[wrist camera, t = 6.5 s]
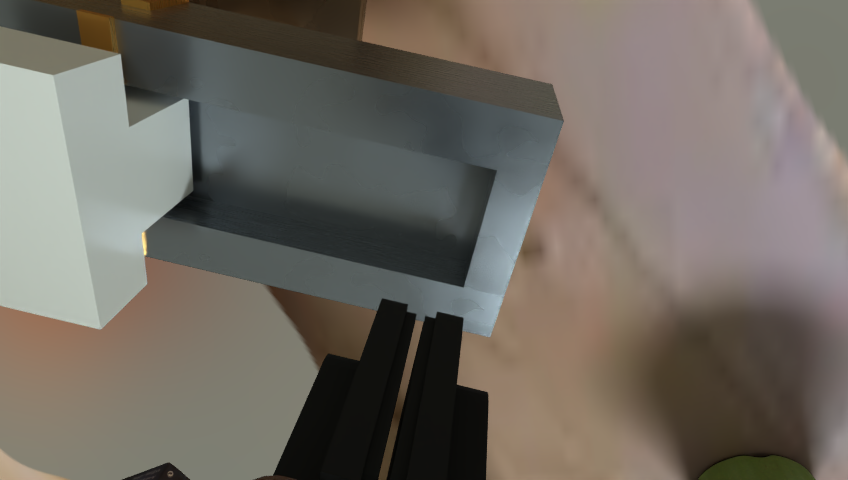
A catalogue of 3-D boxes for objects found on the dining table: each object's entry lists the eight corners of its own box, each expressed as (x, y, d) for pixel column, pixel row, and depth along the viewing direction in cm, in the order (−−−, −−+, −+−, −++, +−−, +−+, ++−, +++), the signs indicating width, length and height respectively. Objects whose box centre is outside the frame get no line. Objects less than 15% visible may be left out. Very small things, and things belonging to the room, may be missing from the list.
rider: (185, 33, 14) (53, 75, 10) (195, 236, 17) (100, 330, 13) (2, -9, 14) (-203, 16, 10) (49, 202, 17) (-90, 284, 13)
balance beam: (556, -27, 21) (603, 10, 11) (482, 226, 27) (470, 396, 17) (5, -150, 21) (-436, -223, 11) (59, 127, 28) (-195, 239, 18)
